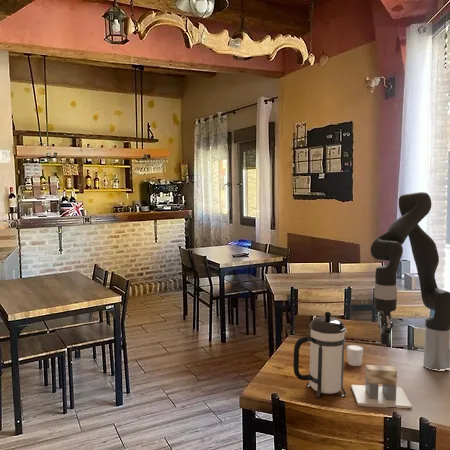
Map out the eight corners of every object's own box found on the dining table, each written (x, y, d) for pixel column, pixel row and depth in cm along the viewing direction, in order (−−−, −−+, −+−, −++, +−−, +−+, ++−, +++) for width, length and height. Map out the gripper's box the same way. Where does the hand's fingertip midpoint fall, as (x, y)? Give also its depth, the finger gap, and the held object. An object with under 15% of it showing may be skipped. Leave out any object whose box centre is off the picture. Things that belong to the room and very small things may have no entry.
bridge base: (400, 390, 164) (401, 374, 163) (412, 409, 150) (412, 392, 150) (351, 387, 166) (351, 371, 166) (357, 405, 152) (358, 389, 152)
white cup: (361, 360, 191) (361, 344, 191) (364, 367, 185) (365, 350, 184) (344, 359, 192) (345, 344, 191) (347, 366, 185) (348, 350, 185)
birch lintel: (393, 380, 159) (394, 366, 158) (396, 385, 155) (397, 371, 154) (365, 378, 160) (365, 364, 160) (367, 382, 156) (367, 369, 156)
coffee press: (314, 377, 174) (316, 303, 171) (353, 389, 164) (355, 311, 161) (291, 393, 161) (293, 313, 158) (332, 407, 151) (334, 322, 148)
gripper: (401, 301, 150) (400, 350, 151) (391, 291, 163) (390, 337, 165) (378, 300, 150) (377, 349, 152) (370, 291, 164) (369, 336, 165)
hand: (384, 343), depth 158 cm, fingers closed
